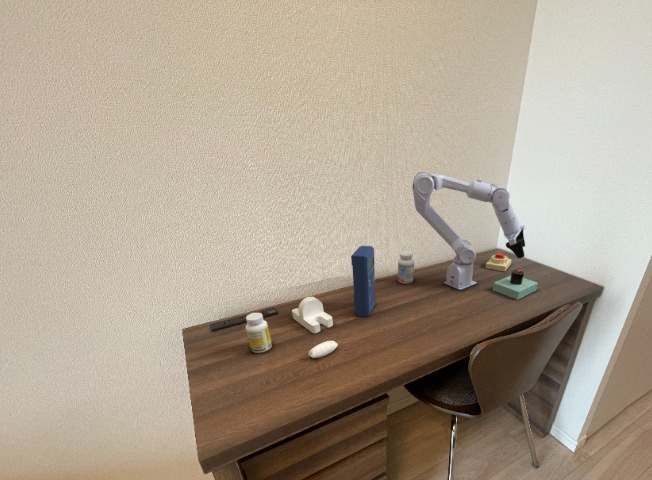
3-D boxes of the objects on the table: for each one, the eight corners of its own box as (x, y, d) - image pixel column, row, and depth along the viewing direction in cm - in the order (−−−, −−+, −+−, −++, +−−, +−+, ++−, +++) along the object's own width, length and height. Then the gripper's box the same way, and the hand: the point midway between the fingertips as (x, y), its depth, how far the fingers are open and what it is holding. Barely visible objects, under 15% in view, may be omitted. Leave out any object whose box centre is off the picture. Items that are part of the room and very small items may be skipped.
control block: (504, 271, 131) (506, 262, 129) (485, 268, 135) (486, 259, 133) (510, 264, 138) (512, 255, 137) (492, 260, 142) (493, 252, 141)
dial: (517, 285, 111) (519, 274, 110) (507, 282, 114) (509, 271, 112) (524, 282, 114) (526, 271, 112) (514, 279, 116) (516, 268, 114)
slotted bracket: (334, 325, 96) (331, 302, 92) (314, 334, 92) (310, 310, 88) (311, 310, 104) (308, 288, 101) (292, 317, 100) (288, 295, 97)
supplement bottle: (264, 339, 90) (258, 309, 85) (276, 346, 86) (269, 315, 82) (247, 348, 86) (238, 317, 81) (258, 356, 83) (250, 323, 78)
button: (502, 260, 133) (503, 256, 132) (494, 258, 135) (494, 254, 134) (505, 257, 136) (505, 253, 135) (496, 256, 137) (497, 252, 136)
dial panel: (517, 299, 109) (519, 291, 107) (492, 290, 116) (493, 282, 114) (536, 290, 115) (538, 282, 114) (511, 281, 122) (513, 273, 121)
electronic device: (369, 317, 100) (367, 256, 91) (354, 315, 101) (350, 255, 92) (376, 303, 108) (374, 246, 99) (361, 302, 109) (358, 245, 100)
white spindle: (307, 357, 82) (306, 348, 81) (333, 345, 87) (332, 336, 85) (313, 363, 80) (312, 353, 79) (340, 350, 85) (339, 341, 83)
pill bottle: (395, 279, 125) (395, 252, 120) (408, 276, 128) (409, 249, 123) (402, 285, 120) (402, 257, 115) (416, 282, 123) (417, 254, 118)
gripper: (518, 223, 102) (533, 258, 107) (520, 206, 113) (533, 238, 118) (497, 231, 106) (512, 264, 112) (500, 214, 117) (514, 245, 122)
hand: (521, 252), depth 115 cm, fingers open, 7 cm apart
